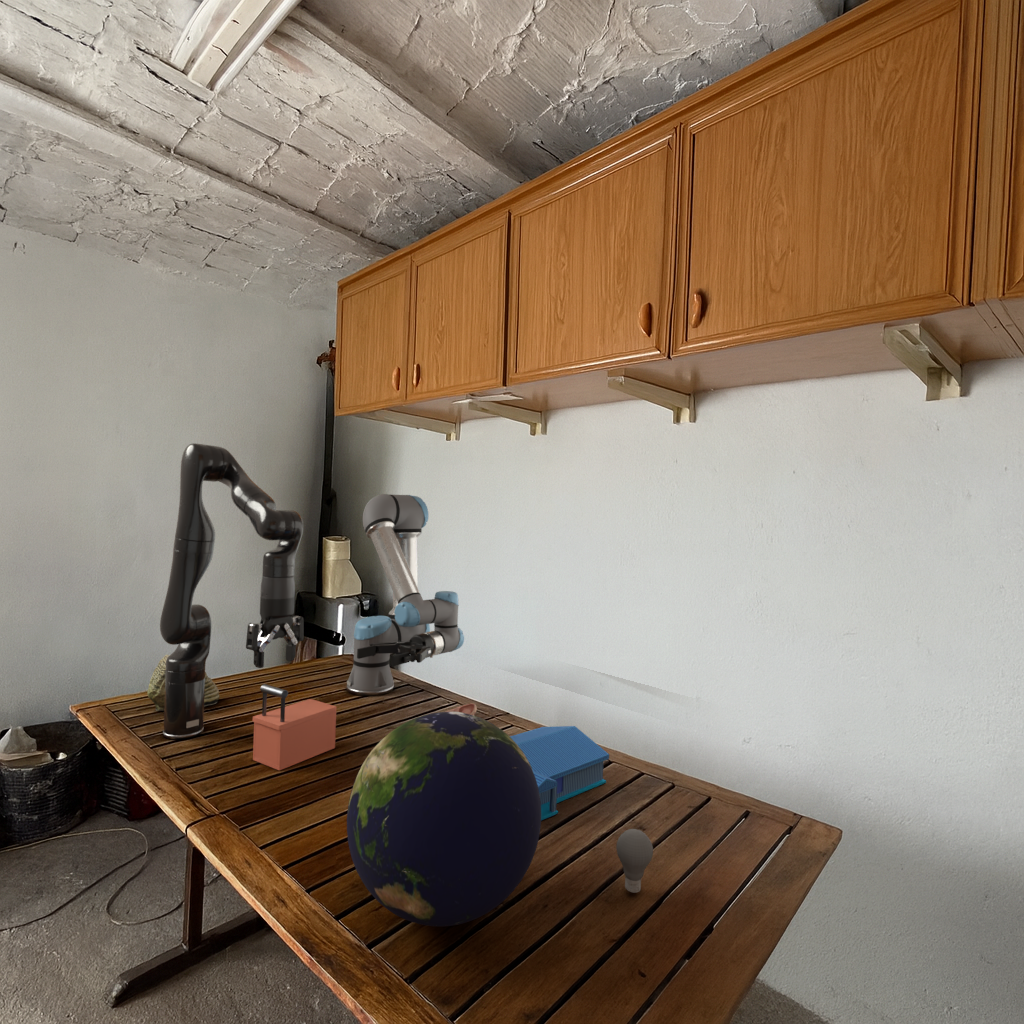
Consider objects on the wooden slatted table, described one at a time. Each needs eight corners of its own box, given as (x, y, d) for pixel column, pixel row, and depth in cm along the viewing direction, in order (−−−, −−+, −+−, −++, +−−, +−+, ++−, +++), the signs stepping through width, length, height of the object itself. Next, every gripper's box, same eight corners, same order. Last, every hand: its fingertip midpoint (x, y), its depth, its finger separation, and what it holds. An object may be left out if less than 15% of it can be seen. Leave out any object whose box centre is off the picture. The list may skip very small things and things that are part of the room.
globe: (299, 937, 91) (307, 730, 90) (409, 838, 119) (415, 679, 118) (489, 1009, 80) (499, 773, 79) (561, 881, 107) (569, 705, 107)
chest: (279, 770, 145) (280, 730, 145) (252, 760, 150) (254, 721, 150) (335, 748, 160) (336, 711, 159) (309, 739, 165) (310, 703, 164)
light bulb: (610, 879, 108) (613, 822, 108) (644, 879, 109) (647, 822, 109) (619, 902, 102) (622, 840, 102) (655, 901, 103) (658, 840, 103)
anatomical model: (424, 710, 178) (437, 698, 190) (423, 724, 179) (436, 711, 190) (469, 715, 176) (480, 702, 187) (469, 729, 176) (479, 716, 187)
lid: (279, 730, 145) (280, 693, 145) (252, 721, 150) (253, 685, 150) (336, 710, 159) (337, 677, 159) (310, 703, 164) (311, 670, 164)
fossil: (144, 707, 182) (145, 655, 182) (212, 696, 194) (213, 647, 194) (151, 716, 175) (153, 662, 175) (221, 703, 188) (223, 653, 188)
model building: (485, 844, 118) (488, 791, 117) (412, 795, 136) (414, 749, 136) (617, 787, 144) (619, 743, 144) (541, 752, 162) (543, 713, 162)
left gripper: (261, 600, 140) (259, 673, 141) (312, 593, 153) (310, 660, 153) (240, 596, 144) (238, 667, 145) (291, 590, 157) (289, 655, 157)
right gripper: (456, 663, 189) (406, 678, 171) (395, 651, 203) (344, 663, 185) (457, 638, 189) (407, 650, 171) (396, 628, 203) (345, 638, 185)
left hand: (275, 663), depth 149 cm, fingers open, 8 cm apart
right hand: (374, 657), depth 178 cm, fingers open, 13 cm apart
